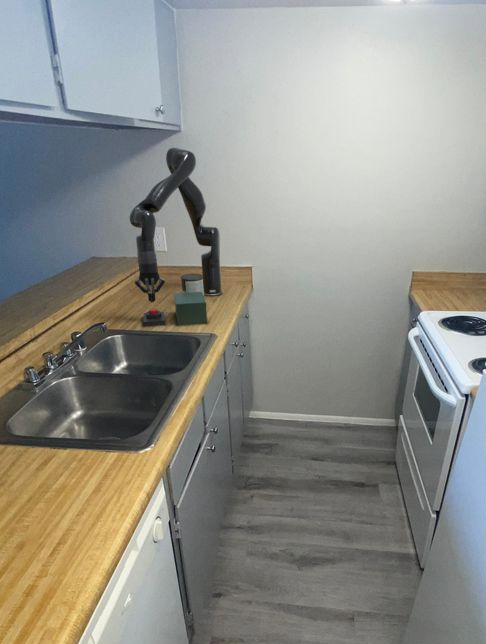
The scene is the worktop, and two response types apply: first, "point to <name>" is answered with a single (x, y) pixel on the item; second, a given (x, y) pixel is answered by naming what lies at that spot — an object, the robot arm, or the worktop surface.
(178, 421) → the worktop surface
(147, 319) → the button block
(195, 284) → the coffee can
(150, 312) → the button
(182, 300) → the lid
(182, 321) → the chest
